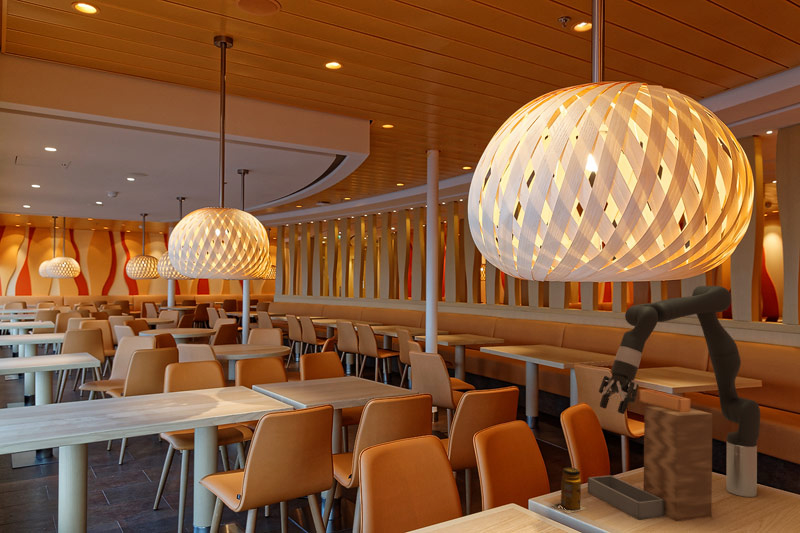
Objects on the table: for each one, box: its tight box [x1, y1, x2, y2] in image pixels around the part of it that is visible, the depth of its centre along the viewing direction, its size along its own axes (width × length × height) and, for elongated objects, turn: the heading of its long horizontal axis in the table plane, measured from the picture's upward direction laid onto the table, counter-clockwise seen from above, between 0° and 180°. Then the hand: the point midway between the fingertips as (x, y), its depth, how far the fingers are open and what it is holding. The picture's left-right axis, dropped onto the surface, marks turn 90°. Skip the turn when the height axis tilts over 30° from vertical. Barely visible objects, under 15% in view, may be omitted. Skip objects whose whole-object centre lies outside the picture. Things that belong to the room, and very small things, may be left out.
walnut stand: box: [643, 405, 713, 522], centre depth 186 cm, size 14×14×32 cm
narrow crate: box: [638, 388, 692, 412], centre depth 192 cm, size 18×4×4 cm, turn 19°
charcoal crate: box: [587, 474, 665, 521], centre depth 190 cm, size 24×10×5 cm, turn 19°
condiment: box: [551, 467, 587, 514], centre depth 185 cm, size 7×8×12 cm
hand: (611, 410), depth 186 cm, fingers open, 8 cm apart
